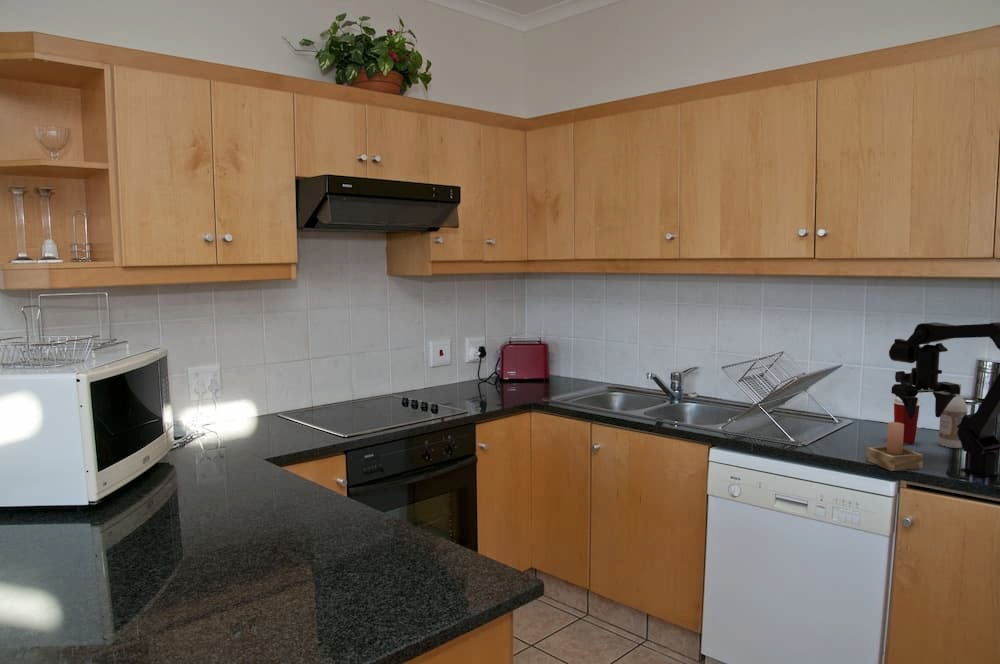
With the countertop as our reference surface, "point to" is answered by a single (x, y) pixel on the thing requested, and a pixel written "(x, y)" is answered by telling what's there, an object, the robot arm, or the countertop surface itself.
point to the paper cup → (906, 420)
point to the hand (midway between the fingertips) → (924, 418)
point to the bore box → (894, 459)
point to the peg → (895, 438)
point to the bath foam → (952, 421)
